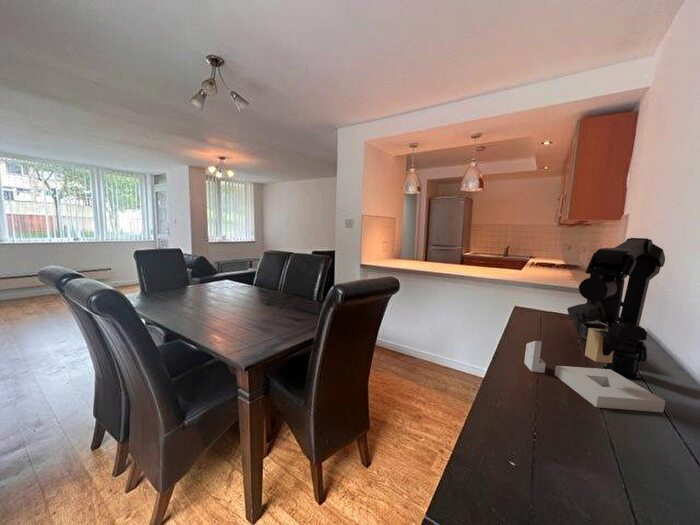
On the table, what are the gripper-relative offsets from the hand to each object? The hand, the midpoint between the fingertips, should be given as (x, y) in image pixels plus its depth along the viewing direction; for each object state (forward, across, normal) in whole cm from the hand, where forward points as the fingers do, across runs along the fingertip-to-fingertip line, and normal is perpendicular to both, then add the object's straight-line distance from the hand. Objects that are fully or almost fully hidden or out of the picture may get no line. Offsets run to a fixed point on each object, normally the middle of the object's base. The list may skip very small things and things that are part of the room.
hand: (599, 351), depth 77 cm
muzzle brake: (+13, -32, +25) cm, 43 cm away
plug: (+2, 0, 0) cm, 2 cm away
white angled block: (+12, -12, -9) cm, 19 cm away
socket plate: (+12, 0, +3) cm, 12 cm away
